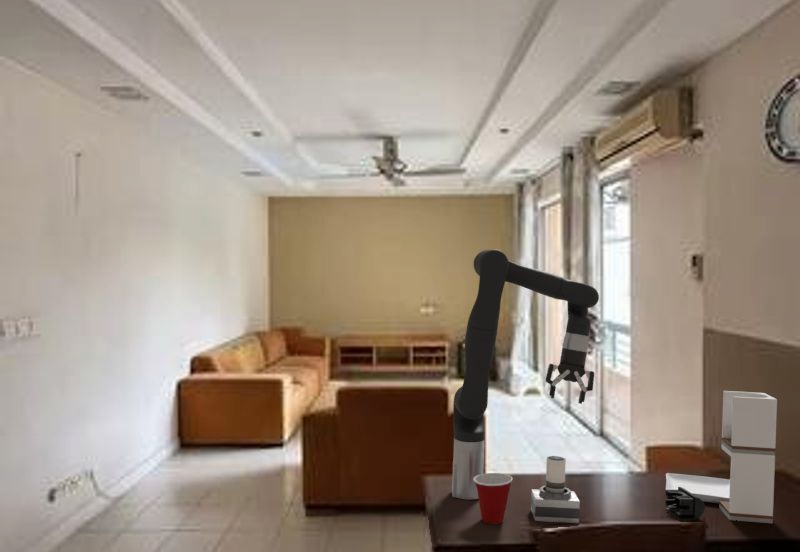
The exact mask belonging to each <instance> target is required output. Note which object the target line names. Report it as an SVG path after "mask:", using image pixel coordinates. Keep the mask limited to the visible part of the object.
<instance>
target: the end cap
mask: <svg viewBox="0 0 800 552" xmlns="http://www.w3.org/2000/svg"><path fill="white" fill-rule="evenodd" d="M665 496H666V497H669V496H672V497H674V496H675V497H674V498H673V499H665V501H664V503H665V507H666V508H665V511H666V512H667V513H669V514H670V515H672V516H673V517H675V518H676V519H677V520H679V521H681V520H693V521H696V520H697V519H699V518H701V517H702V516H703V515H704V513H705V509H706V506H705V502H704V501H702V500H701V499H700V498H698V497H697V496H695V495H693V494H692V493H690V492H689V491H687V490H686V489H684V488H682V487H678V490H666V489H665Z"/></svg>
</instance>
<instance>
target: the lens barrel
mask: <svg viewBox="0 0 800 552" xmlns="http://www.w3.org/2000/svg"><path fill="white" fill-rule="evenodd" d="M566 460H567V459H566V457H562V456H558V455H550V456H547V457H546V470H545V471H546V473H545V486H546V492H549V493H555V494H562V493H564V491H565V487H566V464H567V463H566Z"/></svg>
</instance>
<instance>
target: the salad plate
mask: <svg viewBox="0 0 800 552" xmlns="http://www.w3.org/2000/svg"><path fill="white" fill-rule="evenodd" d="M665 477H666V478H665V480H666V481H665V482H666V483H665V491H666V490H678V487H682V488H684V489H686V490H687V491H689V492H690V493H692V494H693V495H695V496H697V497H698V498H700V499H701V500H702V501H703V502H704V503H713V504H719V501H727V502H729V497H730V478H721V477H719V478H718V477H713V476H712V477H711V476H705V475H703V476H701V475H693V474H692V475H691V474H681V473H671V472H667V473H665ZM673 498H675V496H673Z"/></svg>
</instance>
